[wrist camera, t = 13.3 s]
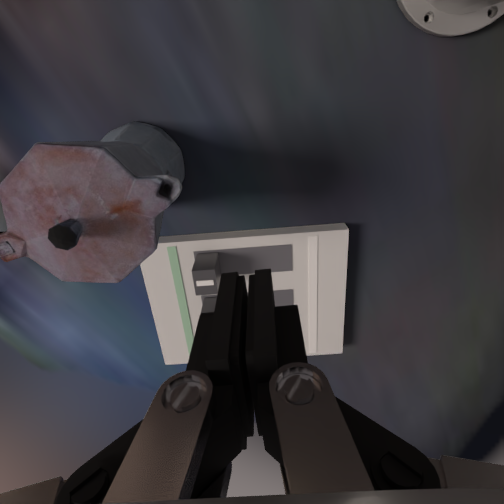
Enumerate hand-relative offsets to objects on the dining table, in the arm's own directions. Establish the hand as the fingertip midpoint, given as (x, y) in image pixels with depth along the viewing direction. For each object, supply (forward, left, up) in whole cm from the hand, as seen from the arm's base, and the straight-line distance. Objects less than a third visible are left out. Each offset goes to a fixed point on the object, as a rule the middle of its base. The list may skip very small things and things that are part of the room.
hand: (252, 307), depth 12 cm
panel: (+2, +17, -27) cm, 32 cm away
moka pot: (+12, 0, -27) cm, 30 cm away
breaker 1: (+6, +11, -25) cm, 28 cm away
